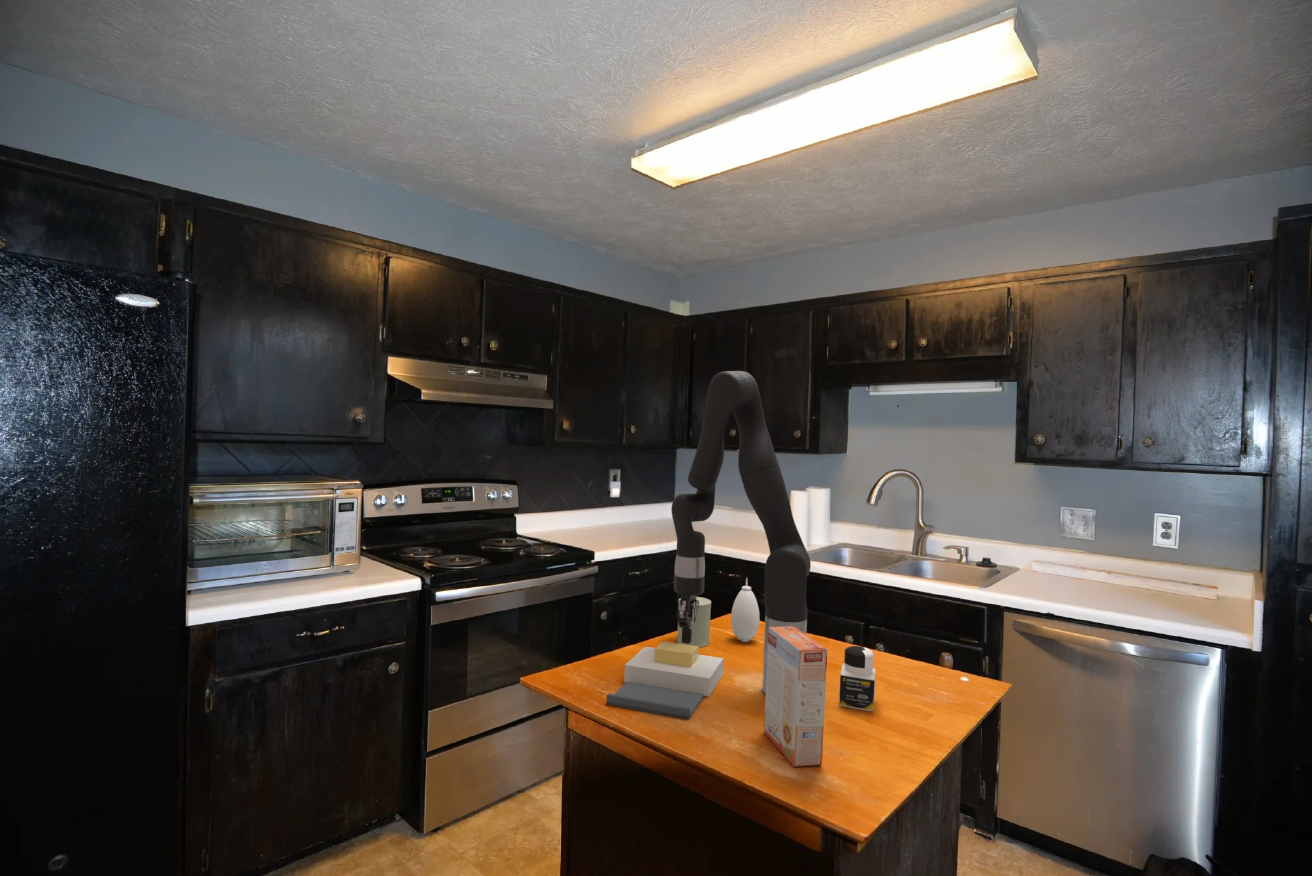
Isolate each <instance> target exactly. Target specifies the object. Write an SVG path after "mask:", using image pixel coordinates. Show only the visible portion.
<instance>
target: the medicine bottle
mask: <svg viewBox="0 0 1312 876" xmlns="http://www.w3.org/2000/svg"><path fill="white" fill-rule="evenodd" d="M876 671H877V670H876V668H874V652H873V651H872V650H871V649H869V648H867V647H864V646H859V645H852V646H847V647H846V648H845V649H844V663H843V664H842V667H841V669H840V676H839V693H838V694H839V699H838V705H839V706H840V707H843V706H844V707H845V708H850V709H855V710H861V711H867V712H874V710H875V693H876V673H877V672H876Z"/></svg>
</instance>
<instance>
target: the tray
mask: <svg viewBox="0 0 1312 876" xmlns="http://www.w3.org/2000/svg"><path fill="white" fill-rule="evenodd" d="M704 697H705V696H704V695H702V694H696V693H691V692H685V691H679V690H673V689H667V688H661V687H655V686H649V685H643V684H637V683H631V682H624V684H622V686H621V687H620V688H619V689H618V690H616V692H614V693H607V694H606V704H608V705H607V706H613V707H617V706H620V707H619V708H624V709H628V708H629V710H634V711H635V710H636V711H640V712H646V713H649V714H657V715H661V716H666V715H667V716H668V717H673V718H680V719H682V720H687V721H688V720H690V718H691V717H693V714H694V712H695V711H696V710H697V708H698V706H699V705H700V704H701V702H702V700H703V699H704Z"/></svg>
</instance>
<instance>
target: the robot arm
mask: <svg viewBox="0 0 1312 876" xmlns="http://www.w3.org/2000/svg"><path fill="white" fill-rule="evenodd" d="M732 414H733V415H734V420H735V421H736V426H737V427H738V434H739V435H738V436H739V446H738V447H739V448H738V460H737V462H738V464H737V465H738V472H739V476H740V479H741V483H742V484H743V488H744V491H745V492H744V493H745V494H746V497H747V499H748V501H749V503H750V505H751V507H752V509H753V511H754V513H755V514H756V516H757V517H758V519H759V521H760V523H761V524H762V527H763V530H764V532H765V536H766V540H767V544H768V549H769V555H768V557H767V558H766V560H765V566H764V581H763V582H764V585H763V587H764V591H763V592H764V593H763V595H764V596H763V601H764V606H765V619H764V620H765V621H764V638H763V639H764V642H763V664H762V665H763V666H762V683H761V684H762V692H763V694H765V695H766V678H767V657H768V634H769V627H786V626H792V627H796V628H797V629H799V630H800V631H802V632H803V633H804V634H806V635H807V630H808V629H807V628H808V627H807V626H808V625H807V624H808V606H807V581H808V580H807V578H808V577H809V574H810V571H811V567H812V566H811V565H812V564H811V563H812V562H811V558H810V555H809V553H808V551H807V548H806V546H805V544H804V542H803V539H802V537H801V535H800V532H799V530H798V528H797V525H796V522H795V520H794V516H793V512H792V507H791V502H790V498H789V495H788V492H787V491H788V490H787V488H786V483H785V479H784V476H783V474H782V470H781V467H780V464H779V461H778V458H777V456H776V453H775V450H774V446H773V442H772V440H771V435H770V433H769V430H768V427H767V423H766V418H765V414H764V409H763V404H762V400H761V393H760V391H759V386H758V383H757V381H756V379H755V378H754V376H753V375H751V373H749V372H747V371H743V370H727V371H720V372H718V373H716V374H715V375H714V376H713V377H712V379H711V380H710V382H709V385H708V389H707V394H706V401H705V407H704V412H703V417H702V418H703V420H702V425H701V428H700V430H701V431H700V436H699V440H698V445H697V448H696V451H695V453H694V457H693V460H692V463H691V466H690V470H689V472H688V476H687V482H688V484H689V485H690V486H691V487H693V488H694V489H696V492H695V493H679V494H678V495H676V496H675V497H674V499H673V501H672V502H671V503H672V504H671V518H672V521H673V525H674V526H673V527H674V531H675V536H676V552H675V553H676V555H675V562H674V575H673V576H674V580H673V591H674V592H675V593H676V594H679V595H680V598H681V600H679V599H678V600H679V601H678V609H677V610H676V613H675V614H676V617H677V624H678V623H679V627H681V628H682V643H686V644H689V643H690V642H691V641H692V627H693V626H694V623H695V621H696V615H697V610H698V605H699V601H698V600H697V599H696V597H697V596H700V595H702V594H704V592H705V571H706V561H705V552H706V551H705V547H706V538H705V535H704V533H703V532H701V531H698V530H694V527H693V522H694V523H696V522H698V523H699V522H705V521H707V520H708V519H709V518H710V517H711V516H712V514H713V512H714V509H715V501H716V499H715V497H716V483H717V481H718V478H719V476H720V473H721V469H722V467H723V464H724V458H725V431H726V427H727V424H728V422H729V421H730V418H731V415H732ZM679 608H680V610H679Z"/></svg>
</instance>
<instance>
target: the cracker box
mask: <svg viewBox="0 0 1312 876" xmlns="http://www.w3.org/2000/svg"><path fill="white" fill-rule="evenodd" d="M827 665H828V648H826V647H825V646H823V645H822V644H820V643H819V642H817V641H816V640H815V639H813V638H812V637H810V636H808V635H807V633H806V634H804V633H803V632H802V631H800V630H799V629H797V628H796V627H792V626H786V627H769V634H768V657H767V678H766V694H765V702H764V703H765V704H764V721H763V723H764V725H763V732H764V733H763V734H765V735H766V736H767V737H768V738H769V740H770V741H771V742H772V744H773V745H774V746H775V747H776V749H778V751H779V752H780V753H781V755H783V757H784V758H786V760H787V761H788V762H789V763H790V765H791V766H792V767H793V768H796V767H811V766H813V767H814V766H822V765H823V751H824V750H823V748H824V731H825V711H826V710H825V708H826V704H825V703H826V686H827V685H826V684H827V667H828V666H827Z"/></svg>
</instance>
